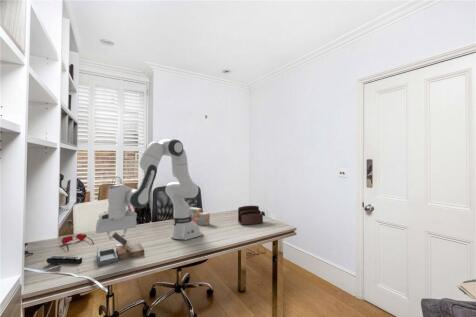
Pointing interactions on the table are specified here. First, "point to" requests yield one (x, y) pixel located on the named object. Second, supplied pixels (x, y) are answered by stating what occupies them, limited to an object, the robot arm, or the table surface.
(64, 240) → the glasses
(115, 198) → the robot arm
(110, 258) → the box
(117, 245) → the tile
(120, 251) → the tile
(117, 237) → the grey block with handle
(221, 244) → the table surface
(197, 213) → the stack of blocks
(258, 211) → the brown lidded box
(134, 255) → the brown square slab
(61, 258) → the portable electronic device stand
